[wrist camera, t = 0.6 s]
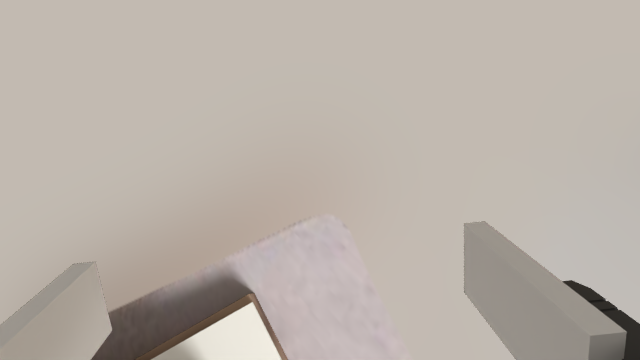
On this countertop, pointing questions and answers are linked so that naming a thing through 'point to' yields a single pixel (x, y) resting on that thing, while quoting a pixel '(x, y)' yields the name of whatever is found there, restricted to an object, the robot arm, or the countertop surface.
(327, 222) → the countertop surface
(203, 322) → the walnut base
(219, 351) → the plate
